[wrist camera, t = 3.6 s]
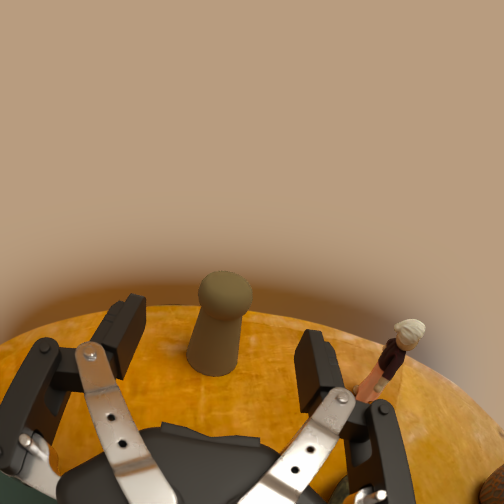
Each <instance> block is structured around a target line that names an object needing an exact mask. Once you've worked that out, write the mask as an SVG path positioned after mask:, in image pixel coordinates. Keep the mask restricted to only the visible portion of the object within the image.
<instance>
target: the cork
mask: <svg viewBox="0 0 504 504" xmlns="http://www.w3.org/2000/svg"><path fill="white" fill-rule="evenodd" d="M198 297H199V302H200V305H201V309H200V312H199V315H198V318H197V321H196V324H195V327H194V330H193V333H192V336H191V339H190V342H189V345H188V349H187V353H186V355H187V360H188V362H189V363H190V365H191V366H192V367H193V368H194V369H195V370H196V371H198V372H200V373H202V374H204V375H208V376H213V377H214V376H223V375H226V374H228V373H230V372H231V371H232V370H233V369H234V368H235V366H236V364H237V359H238V350H239V340H240V331H241V322H242V316H243V315H244V314H246V312H247V311H248V309H249V307H250V305H251V303H252V289H251V286H250V284H249V283H248V282H247V280H246V279H245V278H243V277H242V276H240V275H238V274H235V273H233V272H228V271H218V272H213V273H210V274H208V275H207V276H206V277H205V278H204V279H203V280H202V282H201V284H200V287H199V291H198Z"/></svg>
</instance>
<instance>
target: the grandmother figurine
mask: <svg viewBox="0 0 504 504" xmlns="http://www.w3.org/2000/svg"><path fill="white" fill-rule="evenodd" d="M394 331H396V332H397V333H398V334H397V337H396V338H393V339H389V340H388V341H387V343H386V345H385V346H384V347H383V352H382V354H381V356H380V358H379V360H378V362H377V364H376V365H375V367H374V368H373V370H372V371H371V373H370V374H369V375H368V377H367V378H366V379H365V380H364V381H363V382H362V383H361V384H360V385H356V386H354V388H353V392H354V394H356V397H355V400H358V401H361V402H364V403H368V402H369V401H375V400H376V399H377V398H378V397H379V395H380V394H381V392H382V391H383V389H384V388H385V386H386V385H387V383H388V382H389V381H390V380H391V379H392V378H393V376H394V374H395V372H396V371H397V370H398V368H399V367H400V366H401V365H402V364H403V362H404V358H405V354H406V351H410V350H412V349H414V348H415V347H416V346H417V344H418V342H419V339H421V338H422V336H423V335H424V333H425V326H424V324H423V323H421V322H420V321H419V320H416V319H409V320H404V321H403V322H400V323H398V324H396V325H395V326H394ZM368 404H369V403H368Z"/></svg>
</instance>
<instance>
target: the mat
mask: <svg viewBox="0 0 504 504" xmlns="http://www.w3.org/2000/svg"><path fill="white" fill-rule="evenodd" d="M0 504H58V503H57V500H56V499H54V498H52V497H50V496H48V495H46V494H44V493H42V492H40V491H38V490H36V489H35V488H30V487H27V486H25V485H23V484H22V483H19V482H17V481H15V480H13V479H12V478H10V477H9V476H7V475H5V474H4V473H3V472H1V471H0Z"/></svg>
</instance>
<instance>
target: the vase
mask: <svg viewBox="0 0 504 504" xmlns="http://www.w3.org/2000/svg"><path fill="white" fill-rule="evenodd" d="M479 500H480V504H504V464H503V465H502V466H501V467H499V468H498V469H497V470H495V471H494V472H493V473H492V474H491V475H490V476H489V477H488V479H487V480H486V481H485V483H484V485H483V487H482V489H481V492H480V496H479Z"/></svg>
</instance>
